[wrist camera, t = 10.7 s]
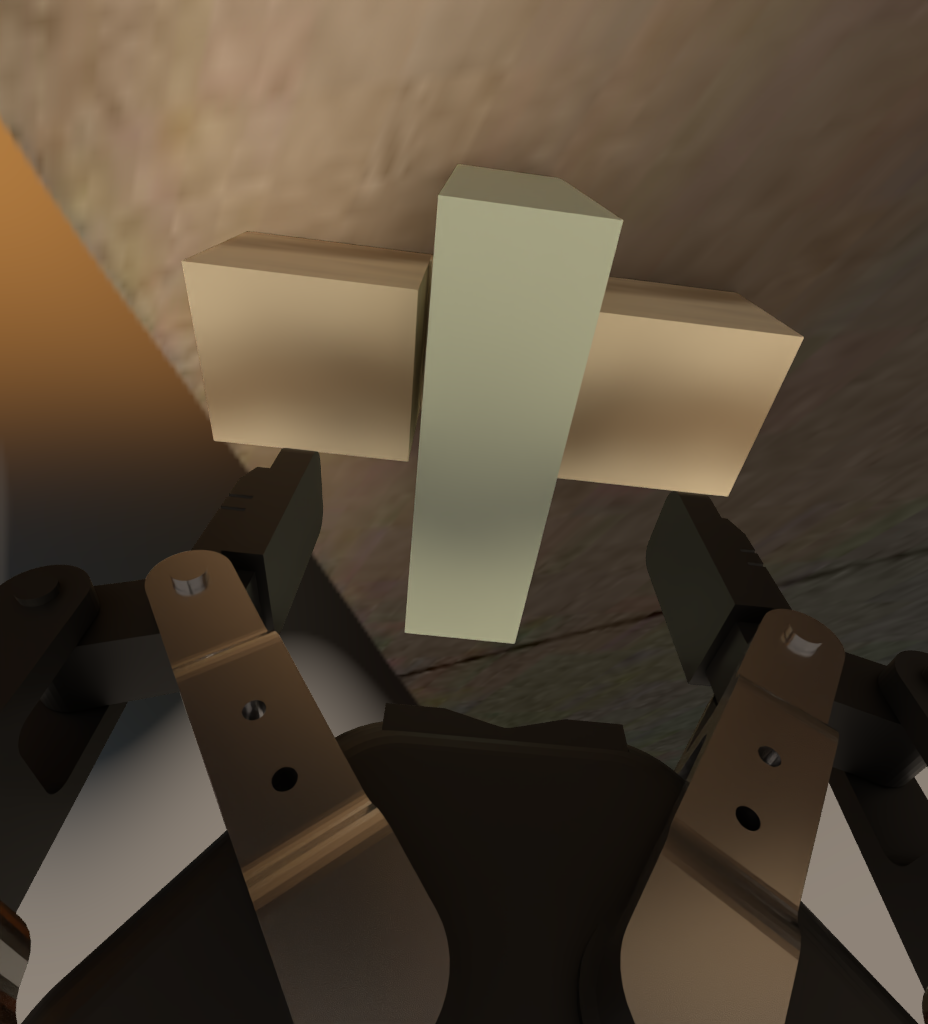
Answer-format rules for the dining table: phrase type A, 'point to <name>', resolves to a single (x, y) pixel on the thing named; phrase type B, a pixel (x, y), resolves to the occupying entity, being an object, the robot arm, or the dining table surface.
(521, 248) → the sage green tall block
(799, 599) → the dining table surface
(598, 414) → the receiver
